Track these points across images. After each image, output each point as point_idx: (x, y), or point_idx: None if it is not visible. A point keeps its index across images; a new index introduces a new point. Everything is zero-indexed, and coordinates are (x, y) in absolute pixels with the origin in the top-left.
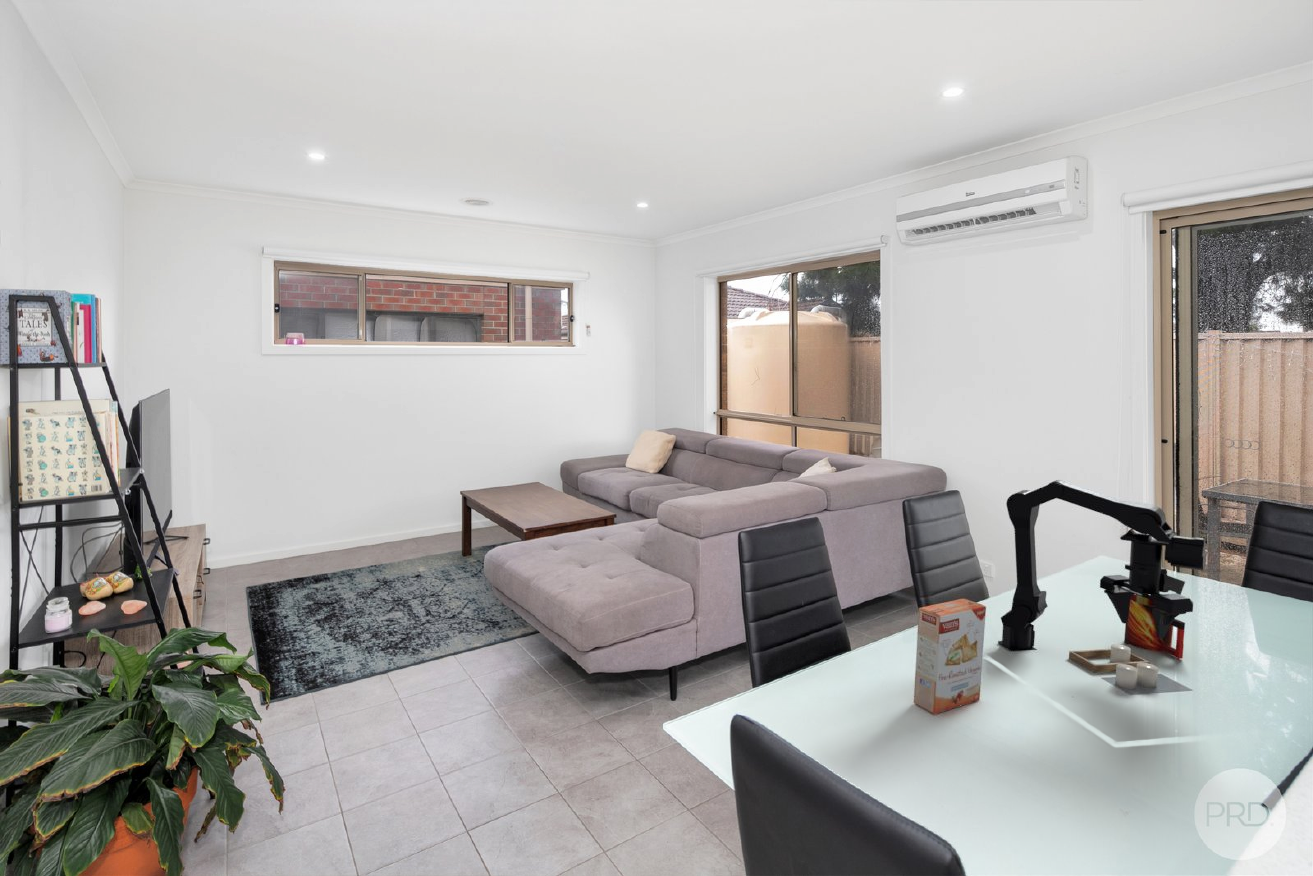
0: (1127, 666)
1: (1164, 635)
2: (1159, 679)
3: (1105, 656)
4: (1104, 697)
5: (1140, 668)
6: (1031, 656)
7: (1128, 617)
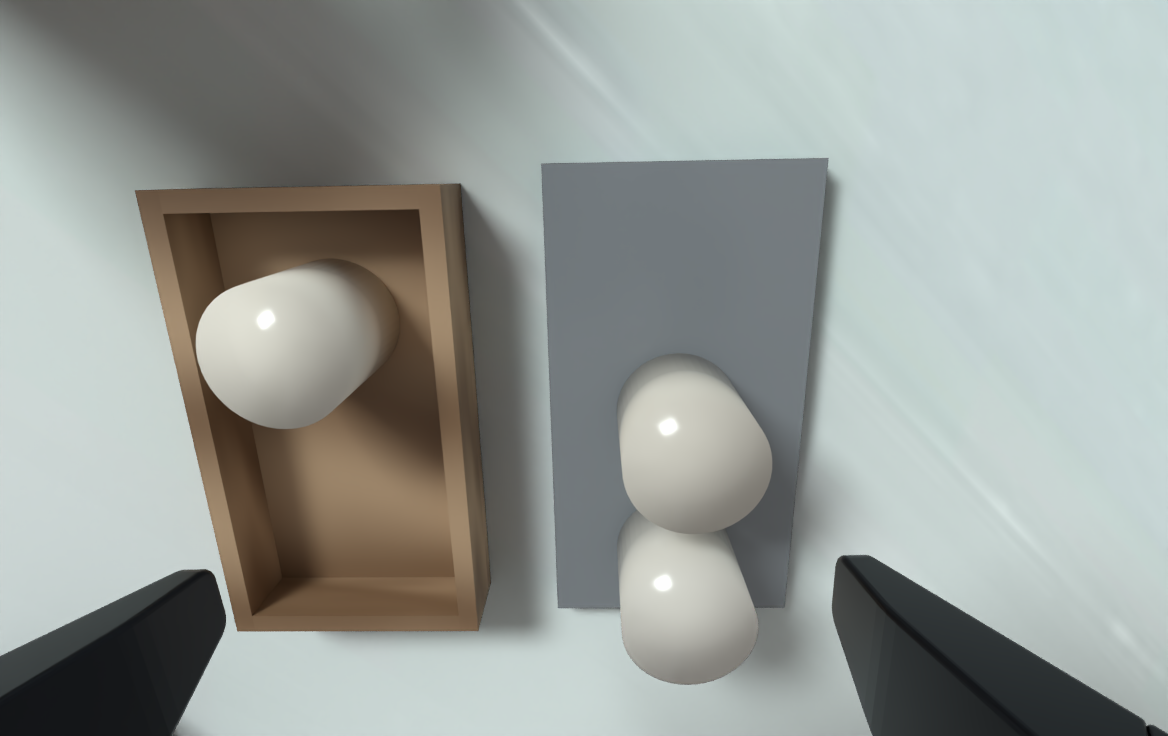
0: (672, 614)
1: (907, 582)
2: (630, 261)
3: None
4: (737, 700)
5: (702, 530)
6: (211, 725)
7: (141, 623)
